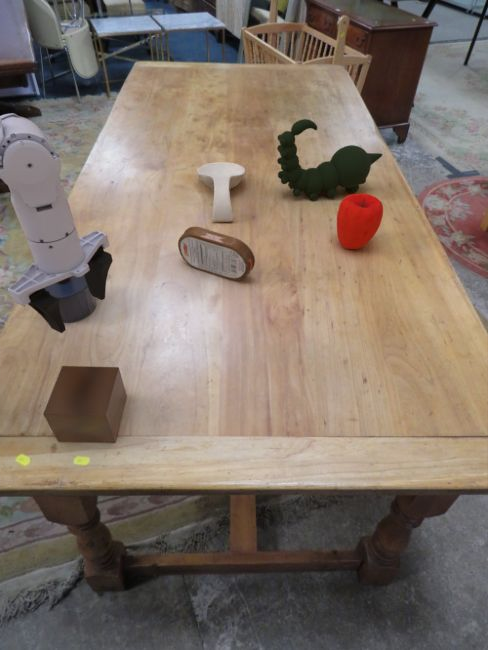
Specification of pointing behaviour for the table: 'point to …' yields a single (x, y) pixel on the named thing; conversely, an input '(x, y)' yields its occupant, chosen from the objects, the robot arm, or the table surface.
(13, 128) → the robot arm
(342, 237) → the apple
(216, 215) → the spoon rest
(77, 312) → the grey short cylinder
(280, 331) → the table surface
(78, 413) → the riser
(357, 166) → the toy figurine
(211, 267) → the tin
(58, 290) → the tin lid
